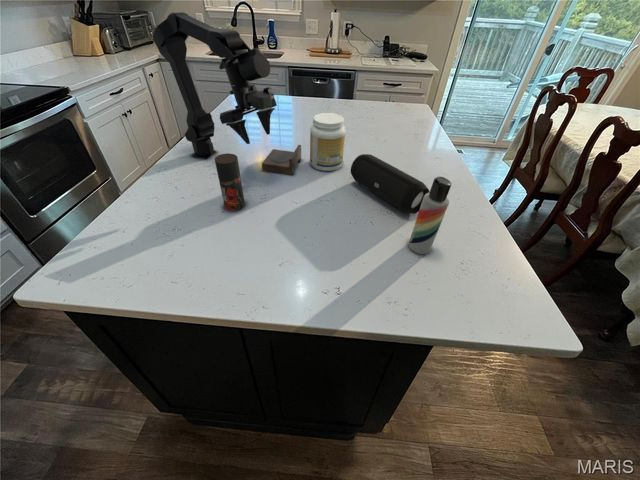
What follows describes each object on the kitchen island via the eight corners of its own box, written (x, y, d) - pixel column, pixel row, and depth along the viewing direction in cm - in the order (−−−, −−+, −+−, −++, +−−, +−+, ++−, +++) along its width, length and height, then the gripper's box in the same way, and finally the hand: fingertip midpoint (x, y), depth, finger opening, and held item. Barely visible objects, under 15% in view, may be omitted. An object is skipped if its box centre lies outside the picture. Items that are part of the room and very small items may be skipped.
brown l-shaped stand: (262, 171, 104) (260, 155, 100) (273, 156, 113) (272, 141, 109) (292, 175, 102) (291, 159, 98) (301, 160, 111) (301, 145, 107)
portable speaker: (347, 183, 100) (350, 155, 93) (368, 175, 105) (372, 148, 98) (404, 221, 85) (413, 191, 79) (426, 210, 90) (435, 181, 83)
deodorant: (248, 201, 89) (241, 155, 79) (238, 212, 85) (229, 165, 75) (231, 197, 91) (222, 151, 81) (220, 208, 86) (209, 161, 76)
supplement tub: (349, 164, 110) (354, 118, 99) (327, 176, 103) (330, 127, 92) (325, 154, 116) (327, 109, 105) (302, 163, 109) (302, 117, 98)
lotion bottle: (405, 240, 79) (426, 173, 66) (425, 239, 79) (450, 173, 66) (412, 255, 75) (435, 186, 61) (433, 254, 75) (461, 186, 62)
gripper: (235, 85, 73) (256, 148, 81) (282, 72, 85) (296, 127, 93) (208, 92, 79) (230, 149, 87) (255, 79, 91) (271, 130, 99)
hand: (258, 138), depth 92 cm, fingers open, 9 cm apart
